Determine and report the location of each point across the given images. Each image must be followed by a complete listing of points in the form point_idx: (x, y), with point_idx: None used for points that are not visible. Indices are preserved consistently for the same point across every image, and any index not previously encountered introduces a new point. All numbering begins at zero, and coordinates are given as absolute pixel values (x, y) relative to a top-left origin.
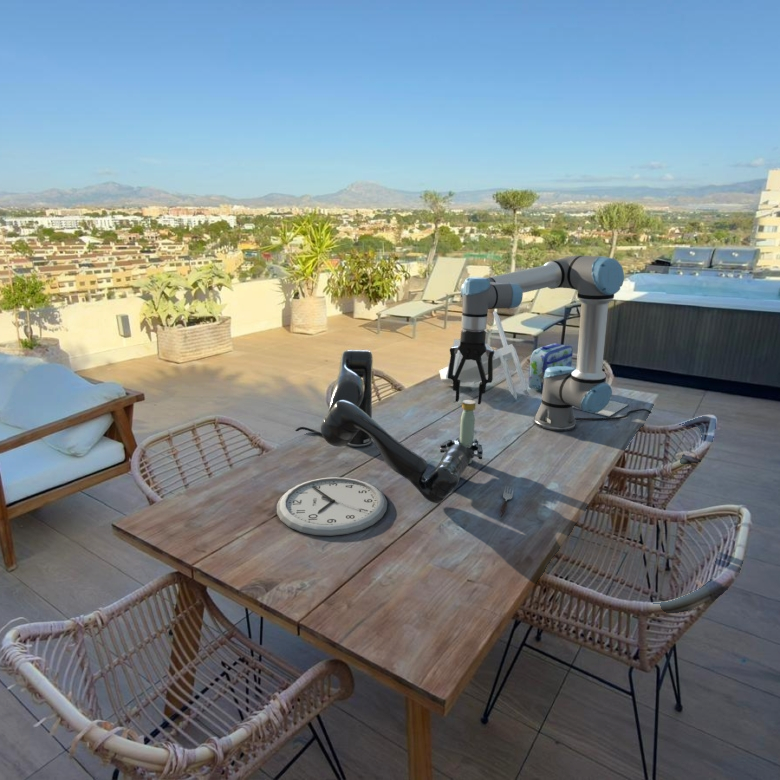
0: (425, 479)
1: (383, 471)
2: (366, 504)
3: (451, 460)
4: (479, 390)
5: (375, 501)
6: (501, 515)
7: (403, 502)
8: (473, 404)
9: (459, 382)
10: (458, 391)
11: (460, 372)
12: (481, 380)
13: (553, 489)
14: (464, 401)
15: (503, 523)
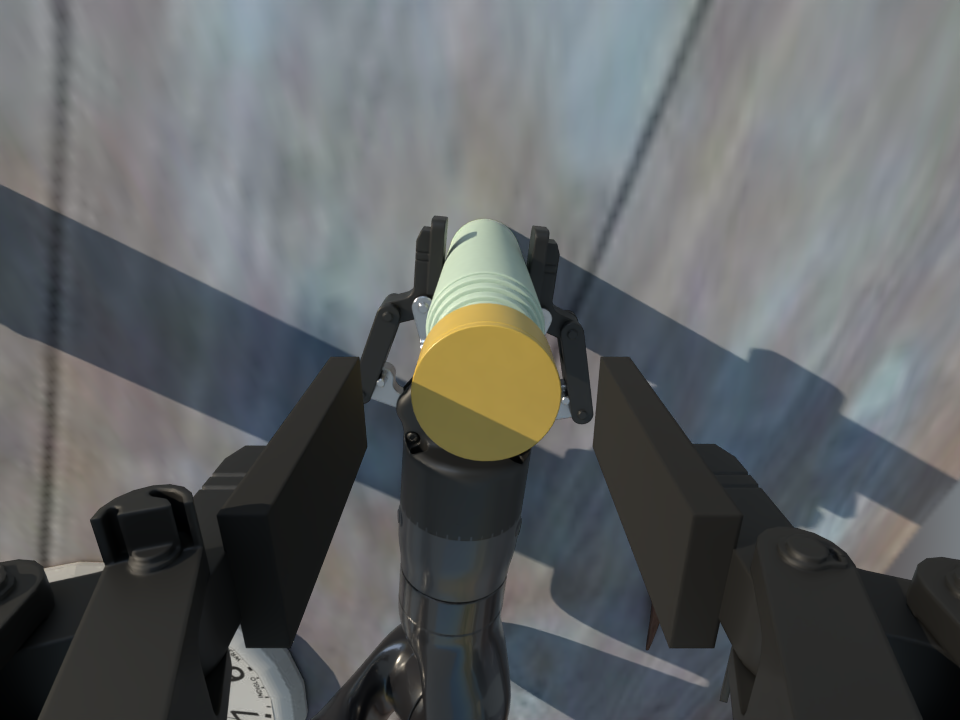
0: (383, 690)
1: (166, 461)
2: (237, 691)
3: (458, 637)
4: (643, 558)
5: (253, 672)
6: (649, 645)
7: (334, 629)
8: (542, 432)
9: (289, 578)
10: (335, 521)
11: (180, 701)
12: (732, 708)
13: (873, 418)
14: (434, 397)
15: (651, 655)
